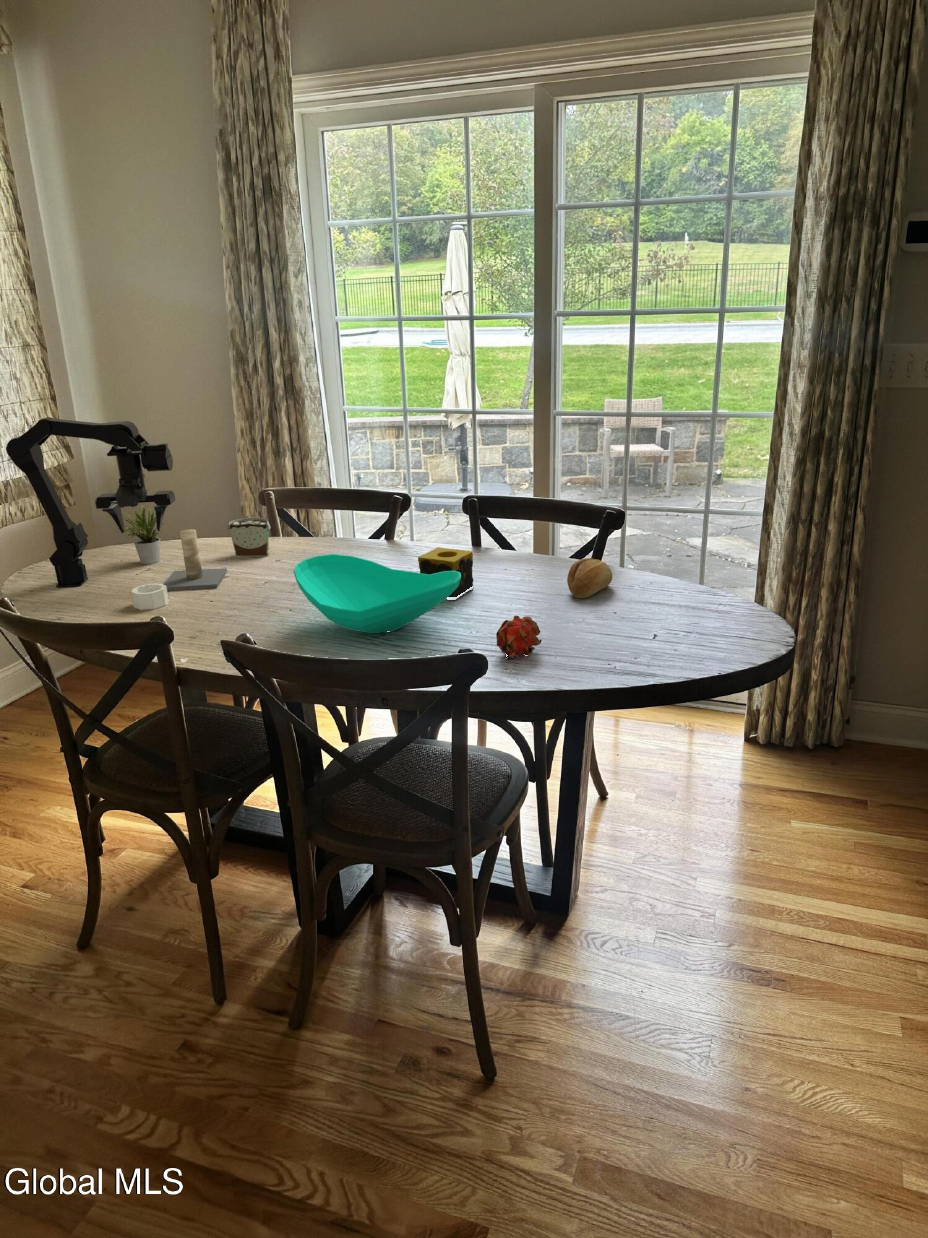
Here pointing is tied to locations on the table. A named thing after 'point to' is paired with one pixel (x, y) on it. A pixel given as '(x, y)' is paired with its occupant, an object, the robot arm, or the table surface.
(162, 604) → the holder cup
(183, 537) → the birch peg
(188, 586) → the rubber mat
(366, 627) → the table top decor
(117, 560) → the table surface
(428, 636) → the table surface
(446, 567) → the candle
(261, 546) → the food container
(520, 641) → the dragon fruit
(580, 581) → the bread roll
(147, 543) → the house plant
